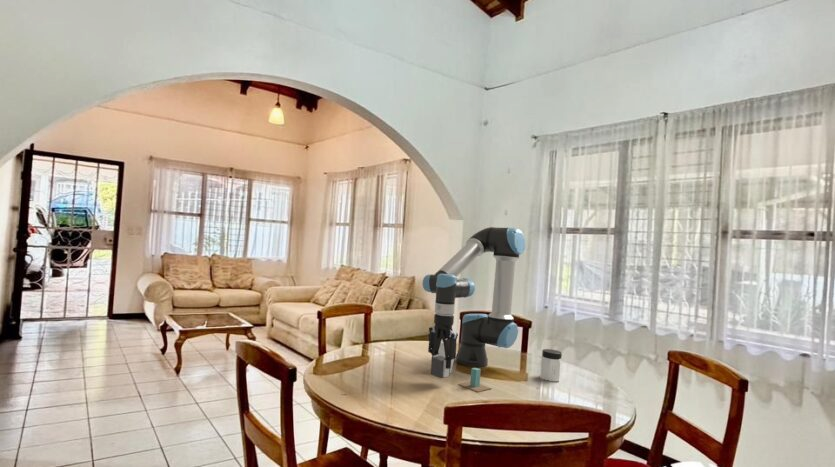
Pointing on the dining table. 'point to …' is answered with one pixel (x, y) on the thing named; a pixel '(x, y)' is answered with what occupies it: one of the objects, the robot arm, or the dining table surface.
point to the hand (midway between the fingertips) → (440, 374)
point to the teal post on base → (475, 381)
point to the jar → (550, 365)
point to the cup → (442, 353)
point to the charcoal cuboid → (437, 366)
